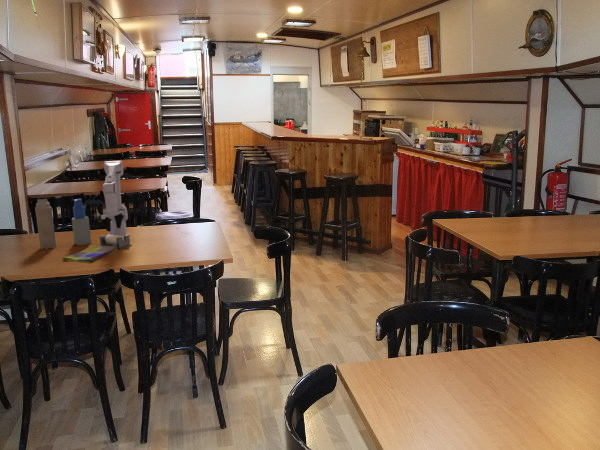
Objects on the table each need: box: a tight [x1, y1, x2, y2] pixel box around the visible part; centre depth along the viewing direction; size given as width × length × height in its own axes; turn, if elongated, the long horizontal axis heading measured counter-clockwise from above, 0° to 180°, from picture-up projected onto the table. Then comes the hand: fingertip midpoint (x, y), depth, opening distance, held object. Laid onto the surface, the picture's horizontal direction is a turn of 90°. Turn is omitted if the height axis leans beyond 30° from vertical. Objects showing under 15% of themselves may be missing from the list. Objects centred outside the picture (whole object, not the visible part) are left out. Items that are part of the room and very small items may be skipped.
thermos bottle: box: [34, 196, 57, 250], centre depth 305 cm, size 8×8×28 cm
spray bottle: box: [71, 198, 92, 246], centre depth 313 cm, size 9×9×25 cm
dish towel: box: [62, 244, 119, 264], centre depth 290 cm, size 18×24×3 cm
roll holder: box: [99, 232, 133, 251], centre depth 306 cm, size 15×10×6 cm, turn 64°
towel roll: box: [105, 233, 125, 244], centre depth 306 cm, size 13×5×5 cm, turn 65°
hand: (113, 229), depth 304 cm, fingers open, 7 cm apart
